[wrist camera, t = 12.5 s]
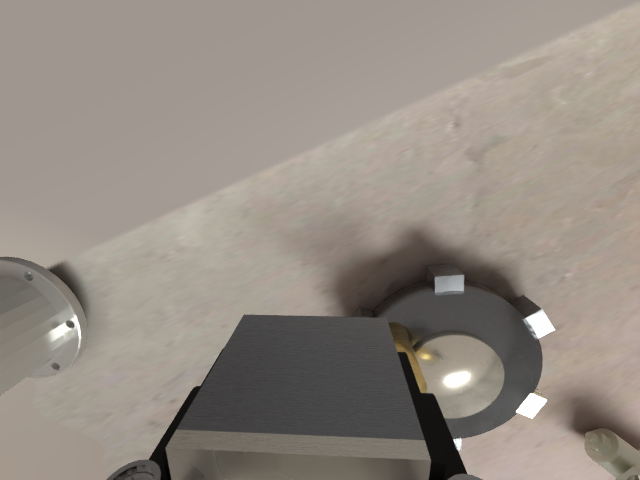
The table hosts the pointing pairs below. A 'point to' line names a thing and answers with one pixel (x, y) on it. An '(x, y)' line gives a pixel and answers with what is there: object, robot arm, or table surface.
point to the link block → (303, 406)
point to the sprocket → (468, 348)
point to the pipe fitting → (613, 454)
